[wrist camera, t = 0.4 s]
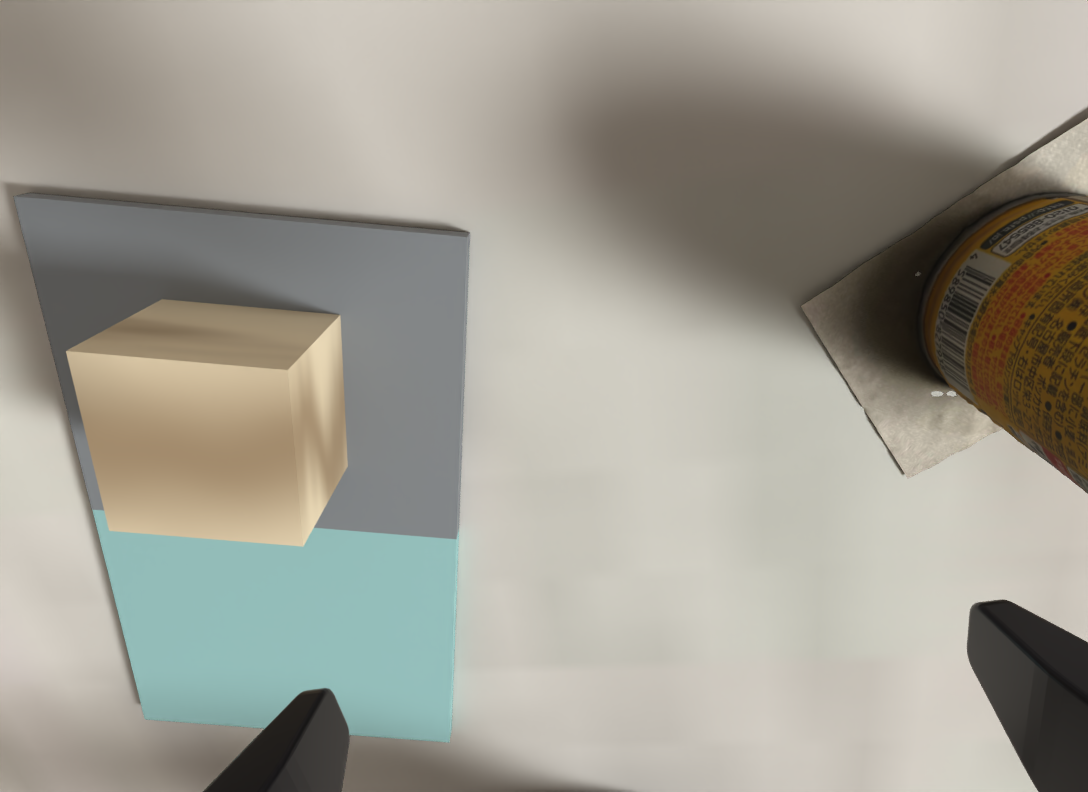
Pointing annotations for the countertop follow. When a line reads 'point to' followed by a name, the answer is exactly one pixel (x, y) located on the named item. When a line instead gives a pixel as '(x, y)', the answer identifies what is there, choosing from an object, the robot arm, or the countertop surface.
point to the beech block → (215, 420)
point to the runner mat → (358, 500)
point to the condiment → (977, 320)
